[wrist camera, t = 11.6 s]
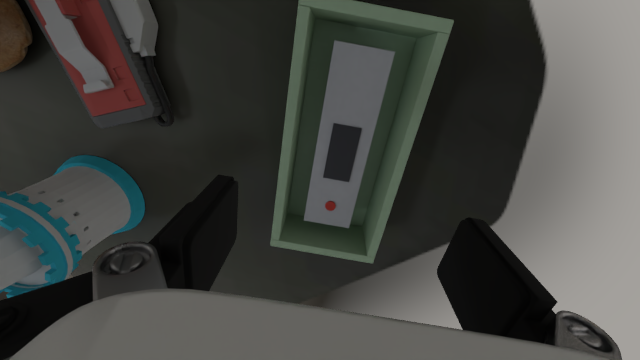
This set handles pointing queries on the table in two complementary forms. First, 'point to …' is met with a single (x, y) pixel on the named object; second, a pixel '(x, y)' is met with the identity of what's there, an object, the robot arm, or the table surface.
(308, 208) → the remote
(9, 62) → the brown flared hollow piece
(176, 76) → the table surface
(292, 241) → the tray
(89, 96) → the walkie-talkie
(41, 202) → the model tower
